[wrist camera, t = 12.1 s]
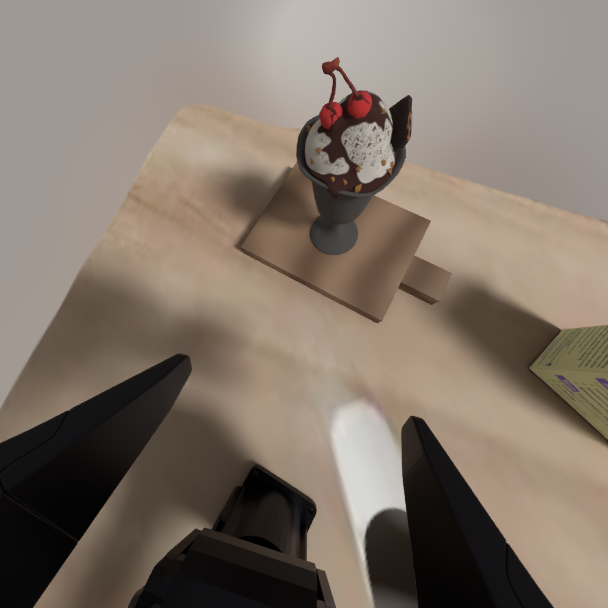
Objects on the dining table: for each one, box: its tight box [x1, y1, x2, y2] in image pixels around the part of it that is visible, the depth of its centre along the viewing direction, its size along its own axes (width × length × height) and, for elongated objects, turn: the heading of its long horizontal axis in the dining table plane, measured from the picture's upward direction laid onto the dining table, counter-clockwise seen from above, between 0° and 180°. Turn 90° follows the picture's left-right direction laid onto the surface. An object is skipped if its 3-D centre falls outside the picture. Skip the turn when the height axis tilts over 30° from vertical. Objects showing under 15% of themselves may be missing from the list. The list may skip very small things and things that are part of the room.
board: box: [241, 162, 452, 323], centre depth 24 cm, size 20×12×2 cm, turn 61°
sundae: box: [296, 57, 412, 255], centre depth 16 cm, size 7×7×15 cm
